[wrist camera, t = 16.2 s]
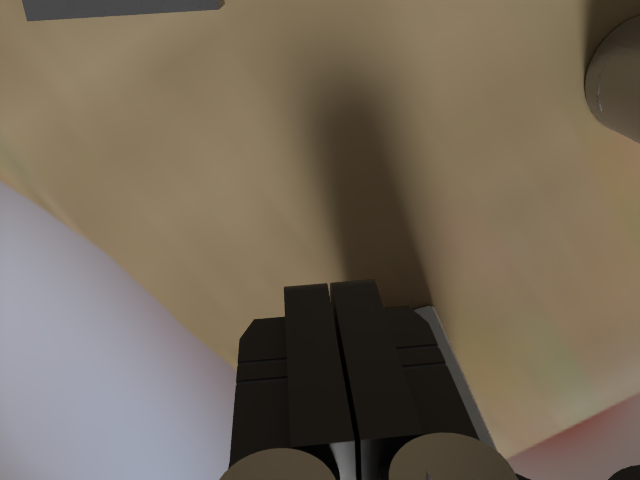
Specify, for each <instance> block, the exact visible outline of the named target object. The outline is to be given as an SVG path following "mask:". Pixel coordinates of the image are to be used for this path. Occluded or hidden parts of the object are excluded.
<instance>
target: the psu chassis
mask: <svg viewBox="0 0 640 480" xmlns="http://www.w3.org/2000/svg"><path fill="white" fill-rule="evenodd" d="M22 2H23V6H24V10H25V14H26V18H27V21H39V20H55V19H71V18H88V17H104V16H120V15H137V14H153V13H169V12H186V11H202V10H218V9H220V8H221V7H222V6H223V5H224V4H225V2H224V0H22Z"/></svg>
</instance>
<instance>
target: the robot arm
mask: <svg viewBox="0 0 640 480" xmlns="http://www.w3.org/2000/svg"><path fill="white" fill-rule="evenodd" d="M585 93H586V99H587V103H588V106H589V108H590V110H591V112H592V114H593V115H594V116H595V117H596V119H597V120H598V121H599V122H601V123H602V124H603V125H605V126H606V127H608V128H610V129H612V130H614V131H616V132H618V133H620V134H622V135H624V136H626V137H628V138H630V139H632V140H634V141H636V142H638V143H640V16H636V17H634V18H632V19H630V20H628V21H626V22H624V23H622V24H621V25H620V26H618V27H617V28H616V29H614V30H613V31H612V32H611V33H610V34H609V35H608V36H607V37H606V38H605V39H604V40H603V41H602V43H601V44H600V46H599V47H598V49H597V50H596V52H595V53H594V55H593V58H592V60H591V62H590V64H589V67H588V71H587V75H586V82H585ZM330 299H331V302H330ZM284 302H285V317H276V318H265V319H254V320H253V322H252V323H251V324H250V326H249V327H248V329H247V330H246V331H245V333H244V334H243V335H242V337H241V338H240V341H239V353H238V366H237V378H236V384H237V386H236V391H235V402H234V414H233V427H232V440H231V451H230V462H229V468H228V470H227V471H226V472H225V473H224V474H223V476H222V477H221V478H220V480H530V479H527V478H525V477H523V476H521V475H518V474H516V473H515V472H514V471H513V469H512V468H511V466H510V465H509V463H508V462H507V461H506V459H505V458H504V457H503V456H502V455H501V454H500V453H498V452H497V451H496V450H495V449H493V448H492V447H490V446H489V445H487V444H485V443H484V442H482V441H480V439H479V437H478V435H477V433H476V430H475V428H474V426H473V424H472V421H471V419H470V417H469V414H468V412H467V410H466V407H465V405H464V403H463V401H462V398H461V396H460V394H459V391H458V389H457V387H456V384H455V382H454V380H453V378H452V375H451V373H450V371H449V368H448V366H446V361H445V359H444V357H443V355H442V352H441V350H440V348H438V343H437V341H436V338H435V336H434V334H433V332H432V329H431V327H430V325H429V323H428V322H427V321H426V320H425V319H424V318H422V317H421V316H420V315H419V314H417V313H416V312H415V311H414V310H413V309H411V308H410V307H409V306H403V307H391V308H383V305H382V302H381V299H380V296H379V293H378V289H377V286H376V283H375V281H374V280H373V279H370V280H358V281H346V282H334V283H330V296H329V291H328V285H327V283H324V284H312V285H300V286H288V287H284ZM608 480H640V465H636V466H630V467H627V468H625V469H622V470H620V471H618V472H616V473H615V474H614V475H612V476H611V477H610V478H609V479H608Z"/></svg>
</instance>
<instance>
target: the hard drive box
mask: <svg viewBox="0 0 640 480" xmlns="http://www.w3.org/2000/svg"><path fill="white" fill-rule="evenodd" d="M414 311H415V312H416V313H417V314H419V315H420V316H421V317H422V318H424V319H425V320H426V321H427V322H428V323H429V325H430V327H431V329H432V332H433V334H434V336H435V338H436V341H437V343H438V348H440V350H441V352H442V355H443V357H444V359H445V361H446V366H448V368H449V371H450V373H451V375H452V378H453V380H454V382H455V384H456V387H457V389H458V391H459V394H460V396H461V398H462V401H463V403H464V405H465V407H466V410H467V412H468V414H469V417H470V419H471V421H472V424H473V426H474V428H475V430H476V433H477V435H478V437H479V439H480V441H482V442H484V443H485V444H487V445H489V446H490V447H492V448H493V449H495V450H496V451H497V449H496V446H495V444H494V442H493V440H492V437H491V435H490V433H489V431H488V429H487V426H486V424H485V422H484V419H483V417H482V415H481V413H480V410H479V408H478V406H477V403H476V401H475V399H474V397H473V394H472V392H471V390H470V387H469V385H468V383H467V380H466V378H465V376H464V373H463V371H462V369H461V367H460V364H459V362H458V360H457V357H456V355H455V353H454V350H453V348H452V346H451V343H450V341H449V339H448V337H447V334H446V332H445V330H444V327H443V325H442V323H441V321H440V318H439V316H438V314H437V312H436V310H435V308H434V306H433V307H431V306H426V307H422V308H418V309H415V310H414ZM497 452H498V451H497Z"/></svg>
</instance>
